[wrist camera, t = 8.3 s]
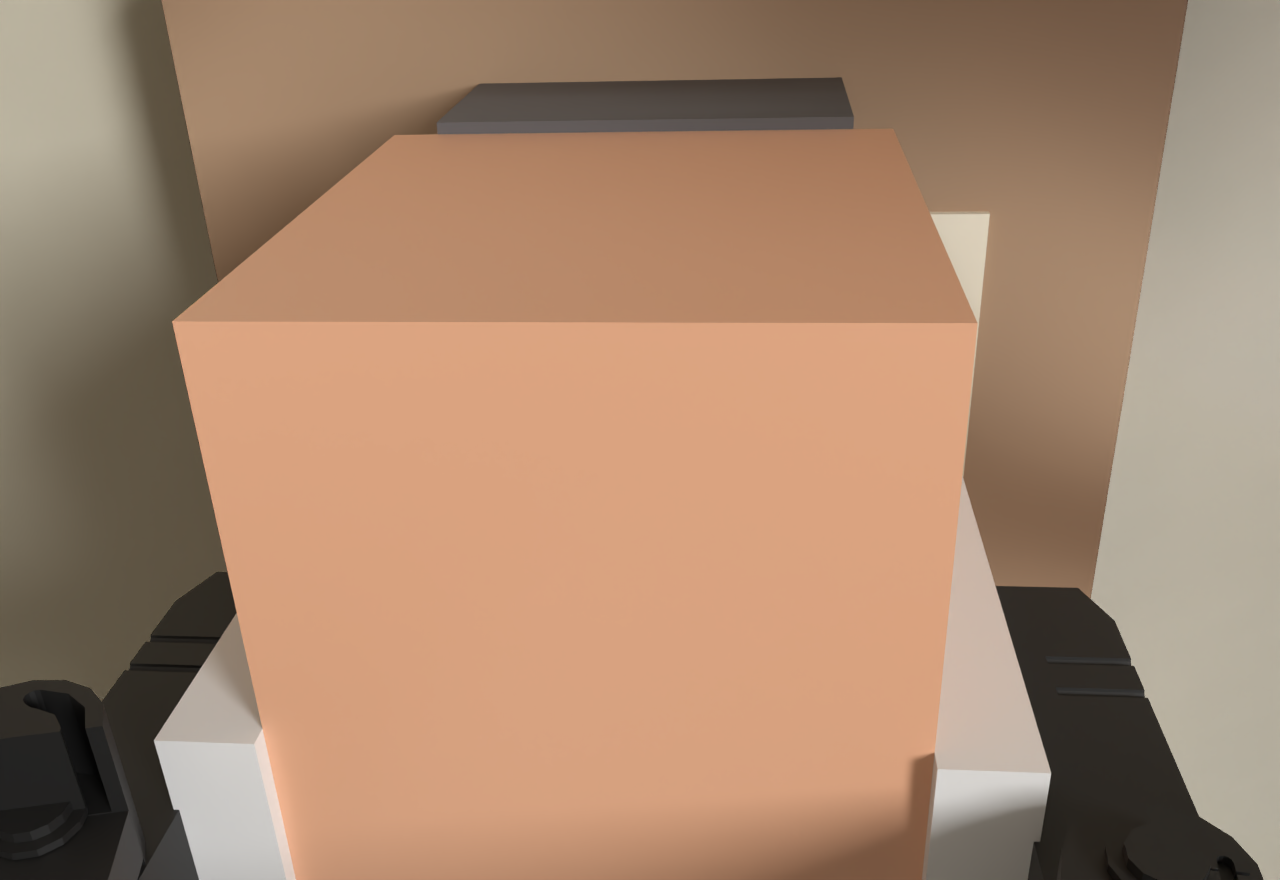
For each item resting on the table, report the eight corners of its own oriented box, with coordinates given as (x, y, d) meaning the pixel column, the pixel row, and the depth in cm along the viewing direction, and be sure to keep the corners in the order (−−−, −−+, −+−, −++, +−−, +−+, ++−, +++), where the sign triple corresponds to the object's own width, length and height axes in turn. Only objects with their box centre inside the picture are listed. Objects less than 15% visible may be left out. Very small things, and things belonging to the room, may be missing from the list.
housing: (848, 851, 15) (883, 1263, 11) (481, 835, 16) (372, 1225, 11) (893, 128, 11) (977, 322, 7) (394, 135, 12) (172, 321, 7)
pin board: (1027, 795, 19) (1140, 1209, 13) (357, 769, 20) (195, 1143, 15) (1158, -92, 13) (1456, -29, 8) (207, -64, 14) (-163, 9, 9)
